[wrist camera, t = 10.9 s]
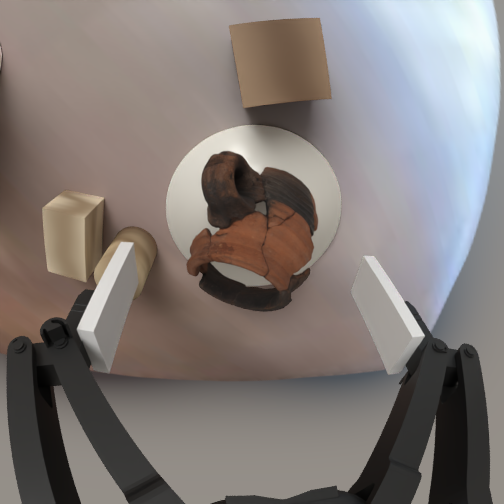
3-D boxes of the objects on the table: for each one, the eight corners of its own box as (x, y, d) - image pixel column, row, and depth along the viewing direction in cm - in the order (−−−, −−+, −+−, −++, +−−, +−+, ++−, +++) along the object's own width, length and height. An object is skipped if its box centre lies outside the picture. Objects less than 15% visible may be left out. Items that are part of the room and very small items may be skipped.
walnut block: (242, 103, 19) (243, 108, 15) (231, 39, 17) (228, 25, 13) (311, 95, 19) (331, 98, 15) (302, 31, 17) (319, 17, 12)
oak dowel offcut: (117, 264, 26) (99, 298, 22) (112, 225, 24) (89, 256, 20) (158, 267, 26) (145, 304, 22) (155, 227, 24) (139, 260, 20)
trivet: (169, 277, 27) (168, 280, 26) (168, 119, 20) (167, 119, 19) (319, 287, 28) (320, 289, 28) (355, 139, 21) (357, 140, 20)
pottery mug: (335, 232, 25) (320, 321, 21) (241, 237, 30) (212, 312, 25) (288, 107, 17) (250, 197, 12) (174, 139, 22) (117, 219, 17)
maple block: (67, 247, 25) (47, 271, 21) (66, 189, 22) (42, 208, 18) (102, 256, 26) (86, 282, 22) (104, 197, 23) (84, 218, 19)
